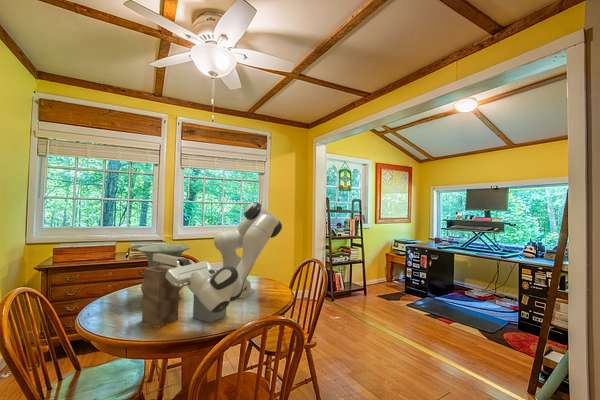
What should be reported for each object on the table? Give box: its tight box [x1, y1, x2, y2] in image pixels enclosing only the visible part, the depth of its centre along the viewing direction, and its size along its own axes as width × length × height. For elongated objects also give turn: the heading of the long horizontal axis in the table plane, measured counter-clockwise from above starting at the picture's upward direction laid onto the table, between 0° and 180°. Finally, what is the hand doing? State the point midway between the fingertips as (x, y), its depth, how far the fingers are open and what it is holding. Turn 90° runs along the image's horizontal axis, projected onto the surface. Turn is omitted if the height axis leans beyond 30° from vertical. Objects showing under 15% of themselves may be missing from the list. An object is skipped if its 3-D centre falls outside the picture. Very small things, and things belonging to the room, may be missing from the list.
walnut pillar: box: [141, 265, 180, 328], centre depth 127 cm, size 10×12×24 cm
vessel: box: [136, 243, 191, 301], centre depth 154 cm, size 27×27×30 cm
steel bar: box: [153, 253, 190, 266], centre depth 124 cm, size 3×22×3 cm, turn 60°
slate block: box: [192, 294, 227, 324], centre depth 133 cm, size 10×12×20 cm
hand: (180, 261), depth 120 cm, fingers closed on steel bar, 3 cm apart
